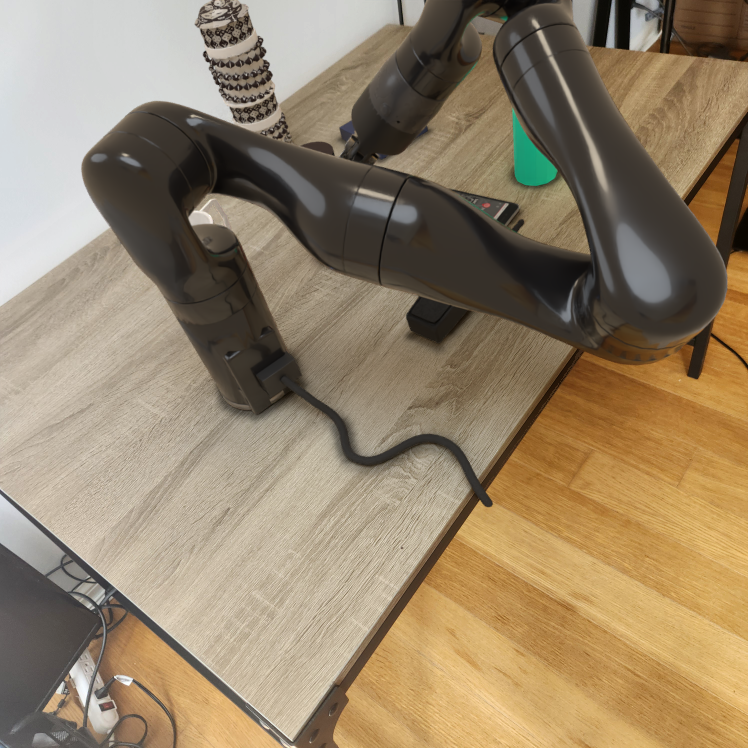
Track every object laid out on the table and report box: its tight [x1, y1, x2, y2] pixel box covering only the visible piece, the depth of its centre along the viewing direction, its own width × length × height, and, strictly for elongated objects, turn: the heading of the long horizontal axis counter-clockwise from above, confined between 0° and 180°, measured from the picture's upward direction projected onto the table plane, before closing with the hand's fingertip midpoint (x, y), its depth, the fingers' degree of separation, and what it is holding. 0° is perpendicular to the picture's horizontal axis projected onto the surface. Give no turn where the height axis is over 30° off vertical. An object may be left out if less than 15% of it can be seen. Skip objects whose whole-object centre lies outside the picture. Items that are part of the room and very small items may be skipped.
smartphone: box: [447, 187, 520, 227], centre depth 91 cm, size 7×1×15 cm
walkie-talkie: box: [405, 218, 525, 344], centre depth 78 cm, size 6×6×20 cm
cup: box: [188, 198, 233, 231], centre depth 89 cm, size 8×12×10 cm
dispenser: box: [338, 119, 429, 160], centre depth 107 cm, size 11×10×4 cm
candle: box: [511, 107, 559, 187], centre depth 89 cm, size 6×6×12 cm
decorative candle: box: [194, 0, 294, 144], centre depth 101 cm, size 9×9×25 cm
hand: (332, 186), depth 82 cm, fingers open, 8 cm apart
